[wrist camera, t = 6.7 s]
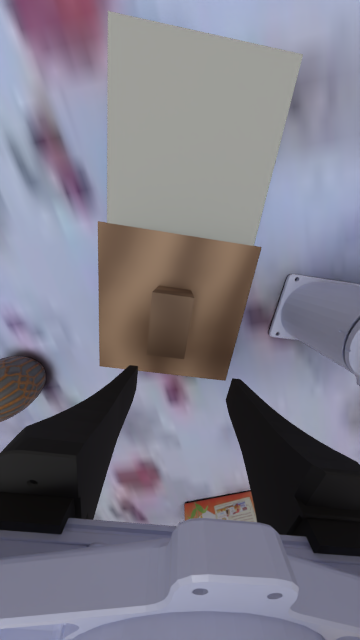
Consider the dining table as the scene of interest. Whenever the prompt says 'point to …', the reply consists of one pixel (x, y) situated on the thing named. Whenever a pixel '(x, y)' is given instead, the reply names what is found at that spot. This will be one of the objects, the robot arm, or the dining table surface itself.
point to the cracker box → (223, 508)
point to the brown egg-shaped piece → (19, 384)
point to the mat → (192, 128)
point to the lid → (171, 300)
